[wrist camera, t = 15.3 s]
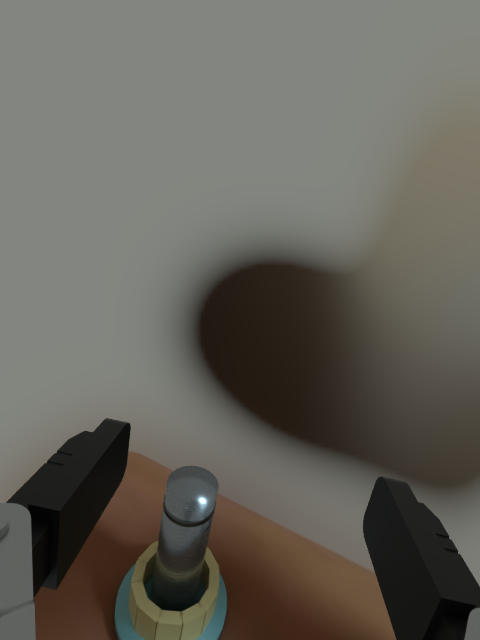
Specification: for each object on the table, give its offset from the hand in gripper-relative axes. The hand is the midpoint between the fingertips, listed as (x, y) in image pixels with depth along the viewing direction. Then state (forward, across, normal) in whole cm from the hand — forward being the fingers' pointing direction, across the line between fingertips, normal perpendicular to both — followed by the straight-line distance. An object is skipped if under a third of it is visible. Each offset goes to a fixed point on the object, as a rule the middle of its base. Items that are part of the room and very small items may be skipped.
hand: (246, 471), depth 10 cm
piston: (+16, +3, +29) cm, 33 cm away
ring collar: (+16, +3, +30) cm, 34 cm away
